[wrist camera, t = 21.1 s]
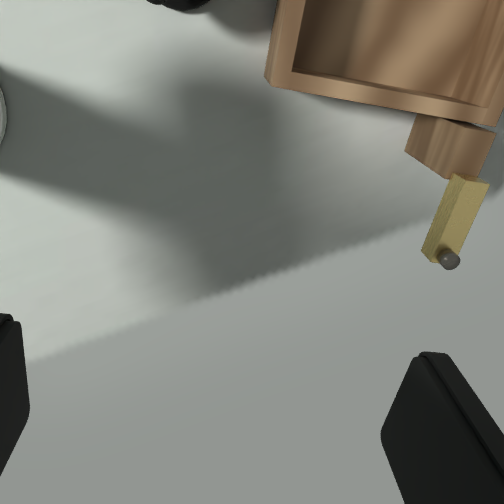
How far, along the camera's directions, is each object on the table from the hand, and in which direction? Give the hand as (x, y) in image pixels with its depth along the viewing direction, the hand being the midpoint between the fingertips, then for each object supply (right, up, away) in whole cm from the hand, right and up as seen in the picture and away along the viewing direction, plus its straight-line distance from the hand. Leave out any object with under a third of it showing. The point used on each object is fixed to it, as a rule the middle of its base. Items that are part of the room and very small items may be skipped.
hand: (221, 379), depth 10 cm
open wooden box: (+11, +21, +26) cm, 35 cm away
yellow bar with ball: (+17, +6, +25) cm, 30 cm away
